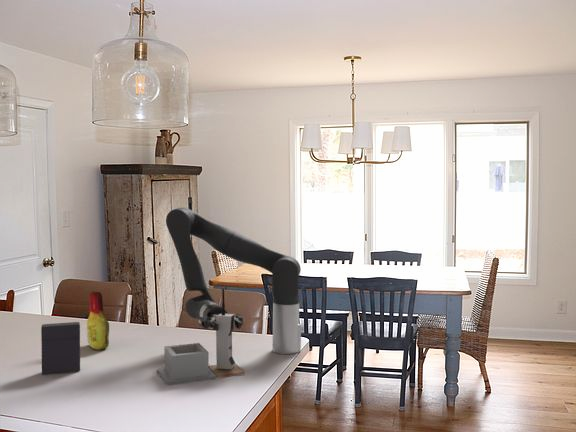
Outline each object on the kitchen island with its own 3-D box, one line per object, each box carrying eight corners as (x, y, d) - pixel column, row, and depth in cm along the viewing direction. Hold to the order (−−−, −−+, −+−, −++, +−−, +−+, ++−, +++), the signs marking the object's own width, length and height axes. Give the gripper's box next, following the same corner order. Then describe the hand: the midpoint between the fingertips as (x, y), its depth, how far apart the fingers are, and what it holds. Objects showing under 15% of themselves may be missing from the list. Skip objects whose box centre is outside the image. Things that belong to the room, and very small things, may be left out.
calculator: (79, 367, 182) (79, 321, 182) (80, 372, 178) (79, 324, 178) (42, 371, 178) (41, 323, 178) (41, 375, 174) (41, 326, 174)
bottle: (82, 345, 208) (82, 290, 207) (99, 342, 212) (99, 288, 211) (94, 352, 199) (94, 295, 198) (112, 349, 203) (112, 293, 202)
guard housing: (203, 365, 186) (203, 341, 186) (216, 379, 174) (216, 352, 173) (156, 371, 180) (157, 345, 180) (166, 385, 168) (166, 358, 167)
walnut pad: (234, 364, 188) (234, 362, 188) (244, 374, 178) (244, 371, 178) (207, 368, 184) (207, 365, 184) (216, 377, 175) (216, 375, 175)
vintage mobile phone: (231, 369, 179) (230, 289, 179) (216, 369, 180) (215, 289, 180) (235, 366, 183) (234, 288, 182) (220, 365, 184) (219, 287, 183)
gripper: (192, 305, 190) (206, 316, 175) (233, 302, 196) (250, 312, 181) (192, 328, 191) (206, 340, 176) (233, 324, 197) (250, 336, 181)
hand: (228, 326), depth 178 cm, fingers open, 6 cm apart
